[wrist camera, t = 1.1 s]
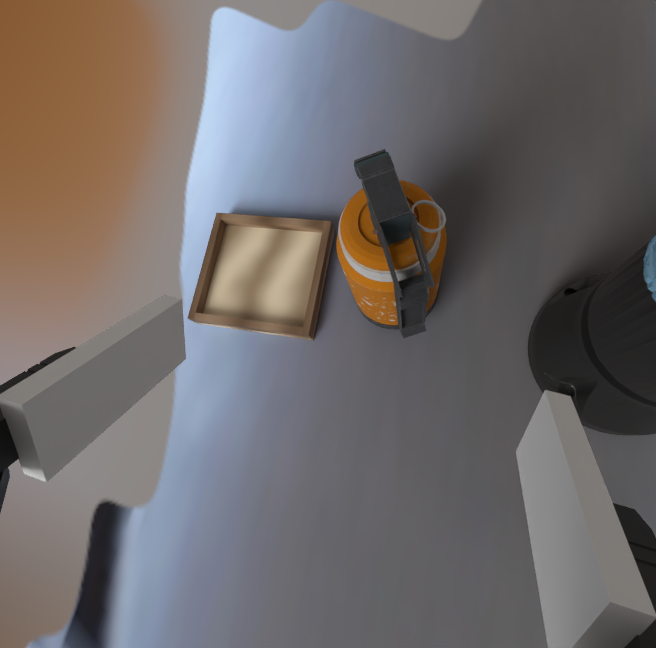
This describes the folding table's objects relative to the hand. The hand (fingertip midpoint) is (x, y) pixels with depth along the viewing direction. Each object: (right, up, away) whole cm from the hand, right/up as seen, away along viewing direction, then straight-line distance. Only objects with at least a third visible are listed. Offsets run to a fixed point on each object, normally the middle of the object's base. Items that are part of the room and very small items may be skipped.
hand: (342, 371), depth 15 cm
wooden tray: (-8, +7, +34) cm, 36 cm away
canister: (+7, +4, +31) cm, 32 cm away
